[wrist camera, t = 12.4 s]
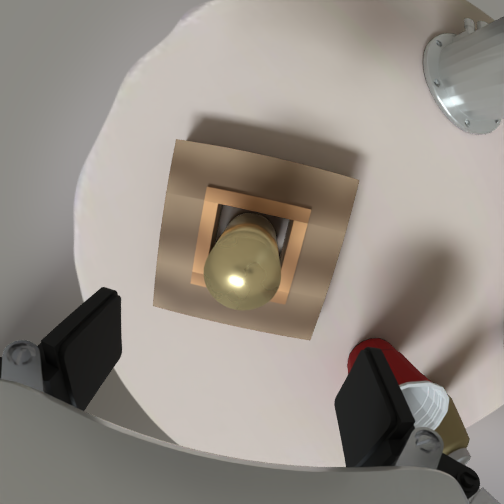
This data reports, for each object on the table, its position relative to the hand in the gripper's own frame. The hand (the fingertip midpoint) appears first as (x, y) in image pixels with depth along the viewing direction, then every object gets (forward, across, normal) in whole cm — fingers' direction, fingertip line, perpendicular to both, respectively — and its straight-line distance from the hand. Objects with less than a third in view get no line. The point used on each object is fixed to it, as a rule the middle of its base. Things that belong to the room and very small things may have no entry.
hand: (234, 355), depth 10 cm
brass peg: (+19, +1, +1) cm, 19 cm away
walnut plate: (+19, +1, +1) cm, 19 cm away
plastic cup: (+19, -16, +12) cm, 28 cm away
